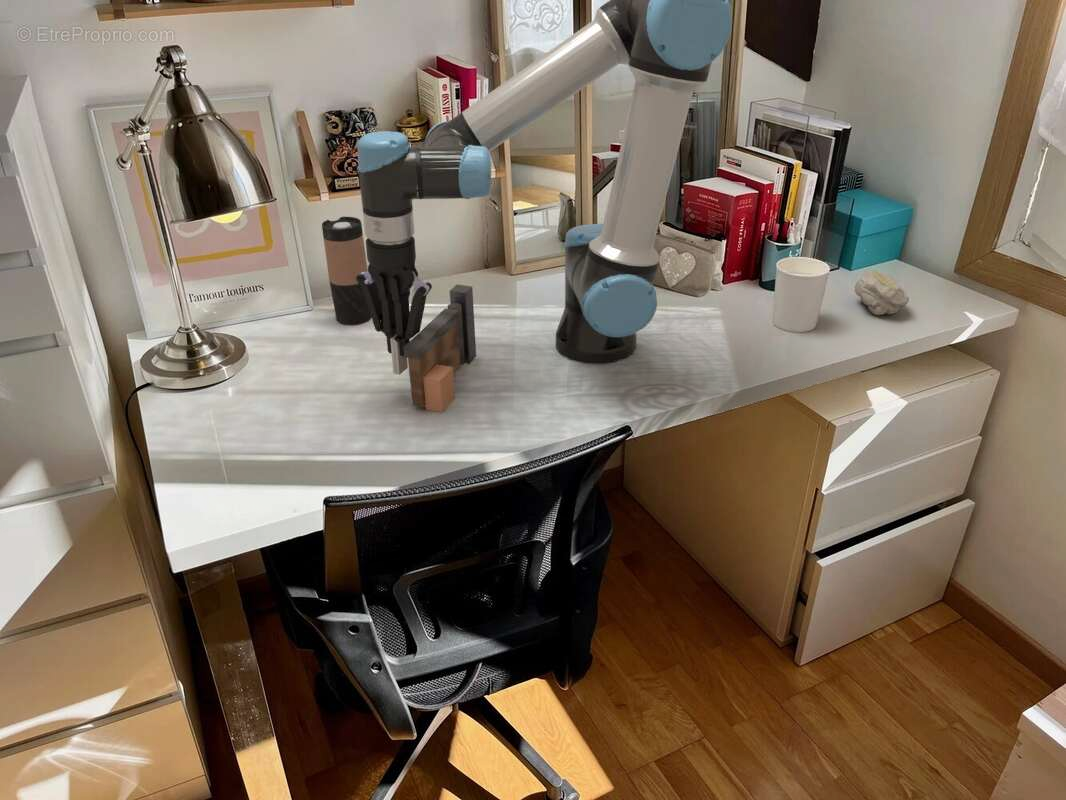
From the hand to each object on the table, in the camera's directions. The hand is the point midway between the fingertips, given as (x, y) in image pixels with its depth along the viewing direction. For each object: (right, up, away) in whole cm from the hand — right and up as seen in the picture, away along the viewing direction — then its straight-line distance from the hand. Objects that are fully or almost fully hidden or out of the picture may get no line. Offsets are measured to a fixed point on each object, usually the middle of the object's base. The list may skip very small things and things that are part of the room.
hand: (400, 370), depth 144 cm
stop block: (+7, -6, 0) cm, 9 cm away
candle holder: (+74, +10, +24) cm, 78 cm away
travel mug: (-14, +12, +30) cm, 35 cm away
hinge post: (+10, +3, +13) cm, 17 cm away
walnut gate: (+6, -2, +4) cm, 8 cm away
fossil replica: (+92, +13, +29) cm, 97 cm away
